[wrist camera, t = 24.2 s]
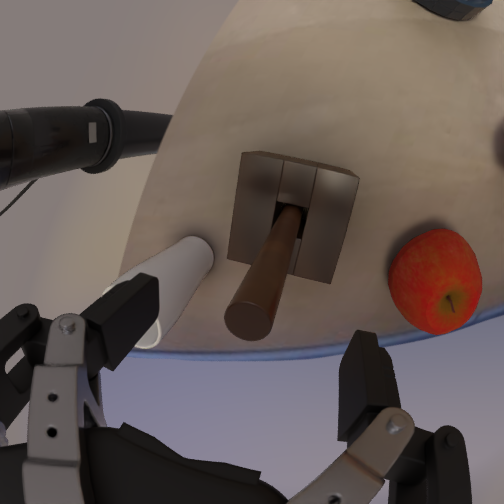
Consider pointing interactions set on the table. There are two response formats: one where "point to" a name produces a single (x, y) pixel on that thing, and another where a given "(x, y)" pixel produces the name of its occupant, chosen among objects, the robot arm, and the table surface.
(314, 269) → the holder
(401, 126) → the table surface
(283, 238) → the stirring stick
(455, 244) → the apple
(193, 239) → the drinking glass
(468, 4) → the bowl
